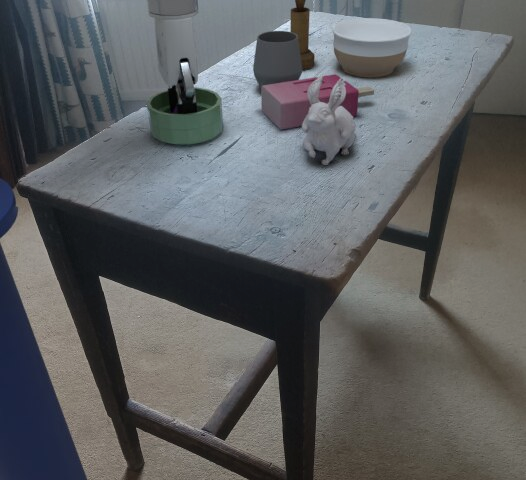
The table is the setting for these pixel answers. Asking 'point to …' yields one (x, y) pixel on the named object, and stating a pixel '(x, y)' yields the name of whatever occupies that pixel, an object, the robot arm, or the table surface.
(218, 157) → the table surface
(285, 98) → the popsicle
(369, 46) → the bowl
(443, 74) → the table surface
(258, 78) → the cup
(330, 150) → the figurine
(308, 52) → the wooden pepper mill
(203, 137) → the green bowl
